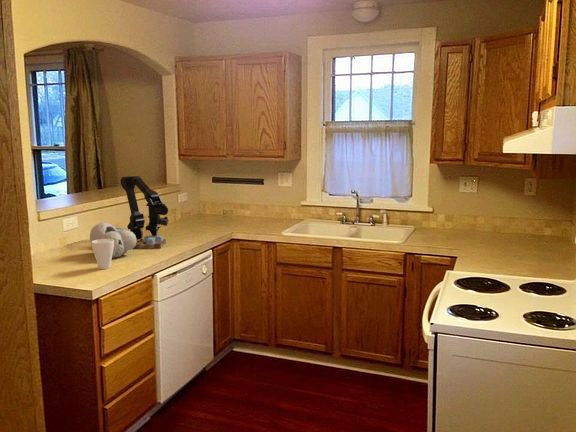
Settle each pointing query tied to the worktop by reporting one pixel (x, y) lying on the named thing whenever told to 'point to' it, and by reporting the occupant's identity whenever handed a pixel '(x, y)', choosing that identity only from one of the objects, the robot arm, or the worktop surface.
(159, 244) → the dock
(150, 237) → the t block
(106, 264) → the cup
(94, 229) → the grey lobed sculpture
